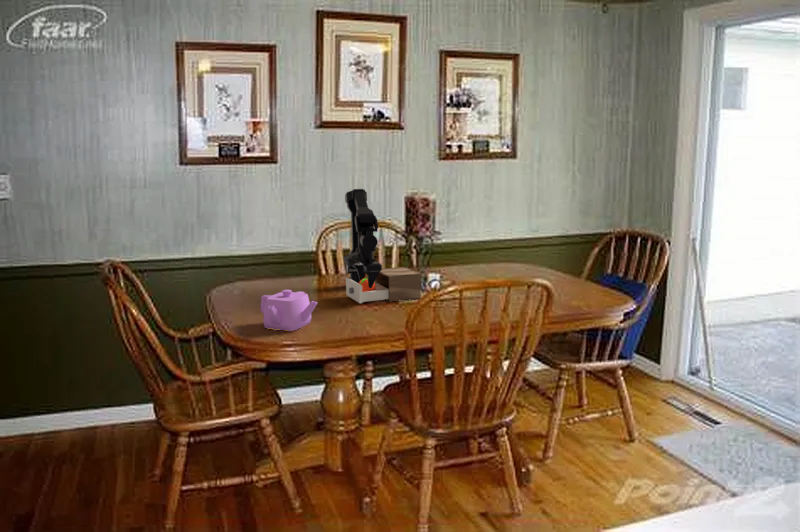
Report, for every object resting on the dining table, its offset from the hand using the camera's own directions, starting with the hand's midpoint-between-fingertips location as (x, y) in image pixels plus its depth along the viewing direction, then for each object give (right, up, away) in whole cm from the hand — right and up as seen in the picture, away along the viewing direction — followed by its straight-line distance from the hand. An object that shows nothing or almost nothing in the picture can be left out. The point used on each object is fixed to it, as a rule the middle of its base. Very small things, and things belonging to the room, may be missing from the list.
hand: (366, 285), depth 278 cm
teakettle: (-25, -13, -35) cm, 44 cm away
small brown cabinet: (+12, -5, +7) cm, 14 cm away
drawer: (0, -5, +1) cm, 5 cm away
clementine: (0, -4, +1) cm, 4 cm away
